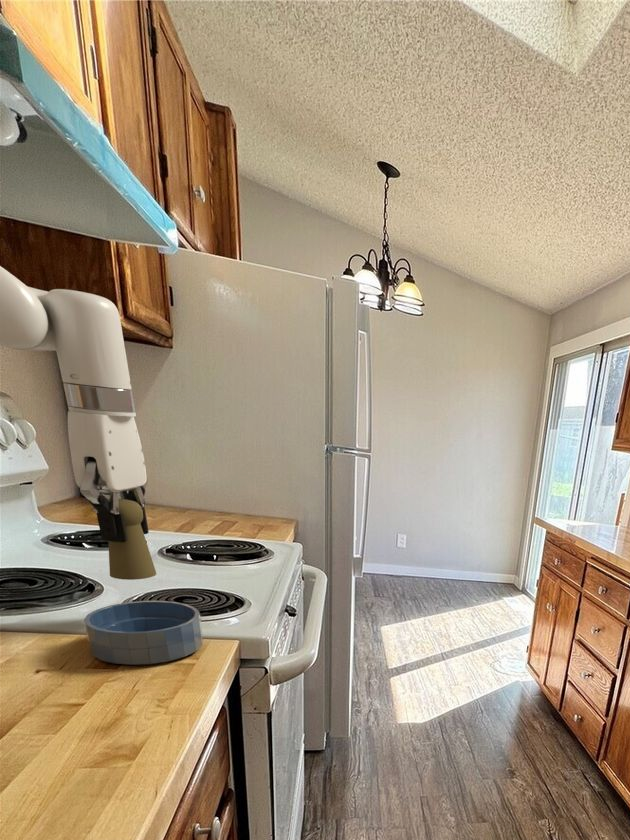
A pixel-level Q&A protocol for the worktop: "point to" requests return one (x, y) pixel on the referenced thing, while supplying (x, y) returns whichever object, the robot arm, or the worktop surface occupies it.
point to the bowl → (144, 632)
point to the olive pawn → (131, 547)
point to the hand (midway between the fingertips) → (126, 535)
